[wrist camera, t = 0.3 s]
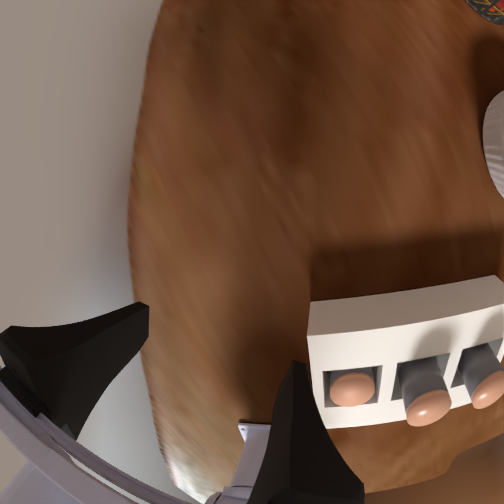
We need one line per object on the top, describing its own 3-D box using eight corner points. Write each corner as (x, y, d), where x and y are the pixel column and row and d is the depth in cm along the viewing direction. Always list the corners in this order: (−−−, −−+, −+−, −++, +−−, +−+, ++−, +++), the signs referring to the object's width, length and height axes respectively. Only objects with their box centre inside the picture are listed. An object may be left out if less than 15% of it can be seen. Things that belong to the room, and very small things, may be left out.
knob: (482, 365, 16) (500, 401, 11) (452, 374, 17) (467, 413, 12) (492, 335, 15) (515, 370, 10) (461, 344, 16) (481, 383, 11)
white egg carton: (471, 369, 19) (486, 401, 15) (319, 394, 24) (316, 433, 20) (494, 274, 16) (523, 301, 12) (310, 301, 21) (306, 340, 16)
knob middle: (431, 379, 17) (444, 420, 13) (395, 386, 18) (402, 429, 14) (439, 349, 16) (457, 391, 12) (400, 357, 17) (411, 402, 13)
